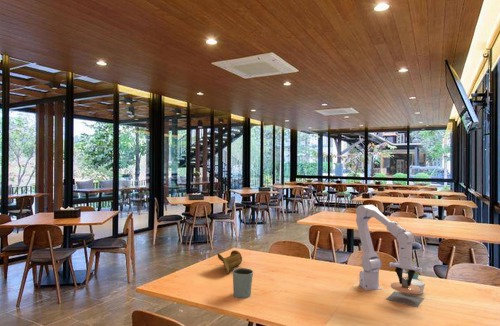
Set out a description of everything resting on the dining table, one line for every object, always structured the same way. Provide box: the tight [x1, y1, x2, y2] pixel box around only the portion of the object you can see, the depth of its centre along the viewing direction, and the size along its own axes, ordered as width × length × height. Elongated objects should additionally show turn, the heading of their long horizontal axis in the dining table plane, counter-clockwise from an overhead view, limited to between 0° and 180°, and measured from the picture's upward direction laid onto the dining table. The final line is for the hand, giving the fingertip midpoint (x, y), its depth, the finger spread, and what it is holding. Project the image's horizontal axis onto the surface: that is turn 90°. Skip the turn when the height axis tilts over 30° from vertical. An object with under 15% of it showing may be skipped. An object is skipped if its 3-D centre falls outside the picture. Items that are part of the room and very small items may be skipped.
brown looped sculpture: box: [217, 249, 243, 275], centre depth 204 cm, size 18×13×22 cm
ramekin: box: [410, 279, 426, 295], centre depth 171 cm, size 11×11×5 cm
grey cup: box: [232, 267, 254, 299], centre depth 163 cm, size 10×10×12 cm
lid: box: [390, 277, 420, 294], centre depth 160 cm, size 13×13×5 cm
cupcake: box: [404, 258, 421, 280], centre depth 193 cm, size 9×8×12 cm
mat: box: [386, 290, 425, 308], centre depth 160 cm, size 14×14×1 cm
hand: (405, 284), depth 160 cm, fingers closed on lid, 3 cm apart
